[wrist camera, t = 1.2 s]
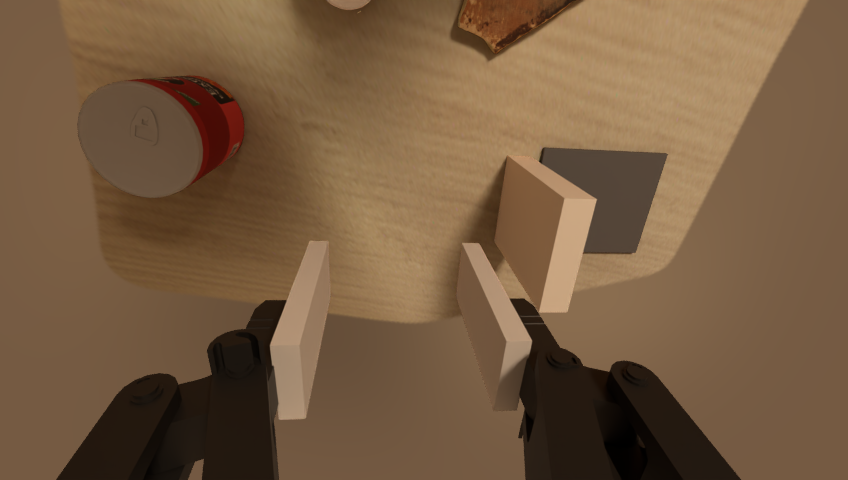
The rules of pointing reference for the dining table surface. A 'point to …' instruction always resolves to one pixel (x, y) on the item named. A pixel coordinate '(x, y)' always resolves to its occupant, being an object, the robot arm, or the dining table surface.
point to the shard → (506, 18)
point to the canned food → (159, 132)
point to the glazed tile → (542, 231)
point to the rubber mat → (611, 191)
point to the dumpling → (348, 4)
